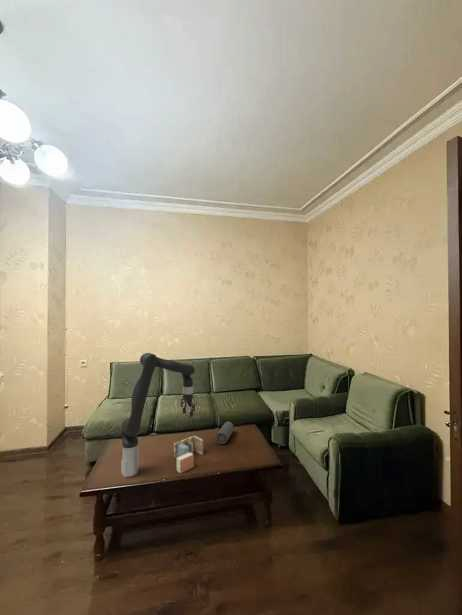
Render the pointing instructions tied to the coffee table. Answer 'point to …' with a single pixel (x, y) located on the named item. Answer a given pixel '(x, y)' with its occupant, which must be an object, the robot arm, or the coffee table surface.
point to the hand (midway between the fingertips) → (187, 415)
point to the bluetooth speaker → (225, 432)
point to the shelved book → (182, 450)
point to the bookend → (190, 446)
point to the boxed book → (185, 462)
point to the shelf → (194, 439)
